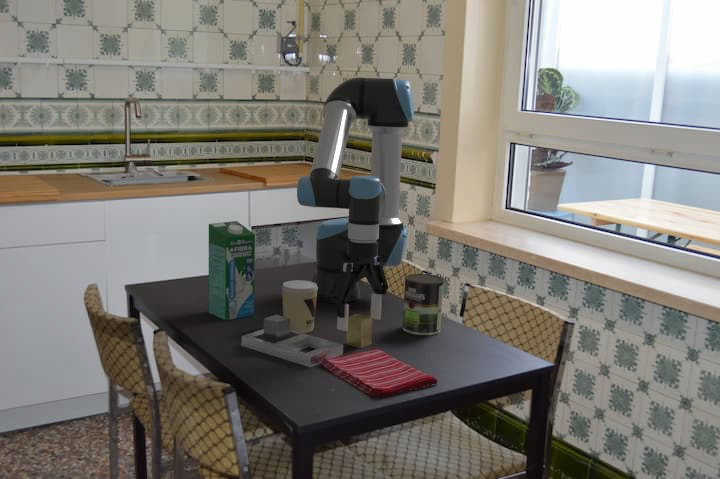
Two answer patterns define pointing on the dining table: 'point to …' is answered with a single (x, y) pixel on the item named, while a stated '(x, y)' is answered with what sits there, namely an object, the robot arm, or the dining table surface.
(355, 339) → the tan rectangular block
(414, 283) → the coffee can
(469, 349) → the dining table surface
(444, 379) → the dining table surface
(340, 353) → the grey tray
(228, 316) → the milk carton
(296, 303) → the coffee cup
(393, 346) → the dining table surface
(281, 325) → the tall grey box
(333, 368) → the dish towel
